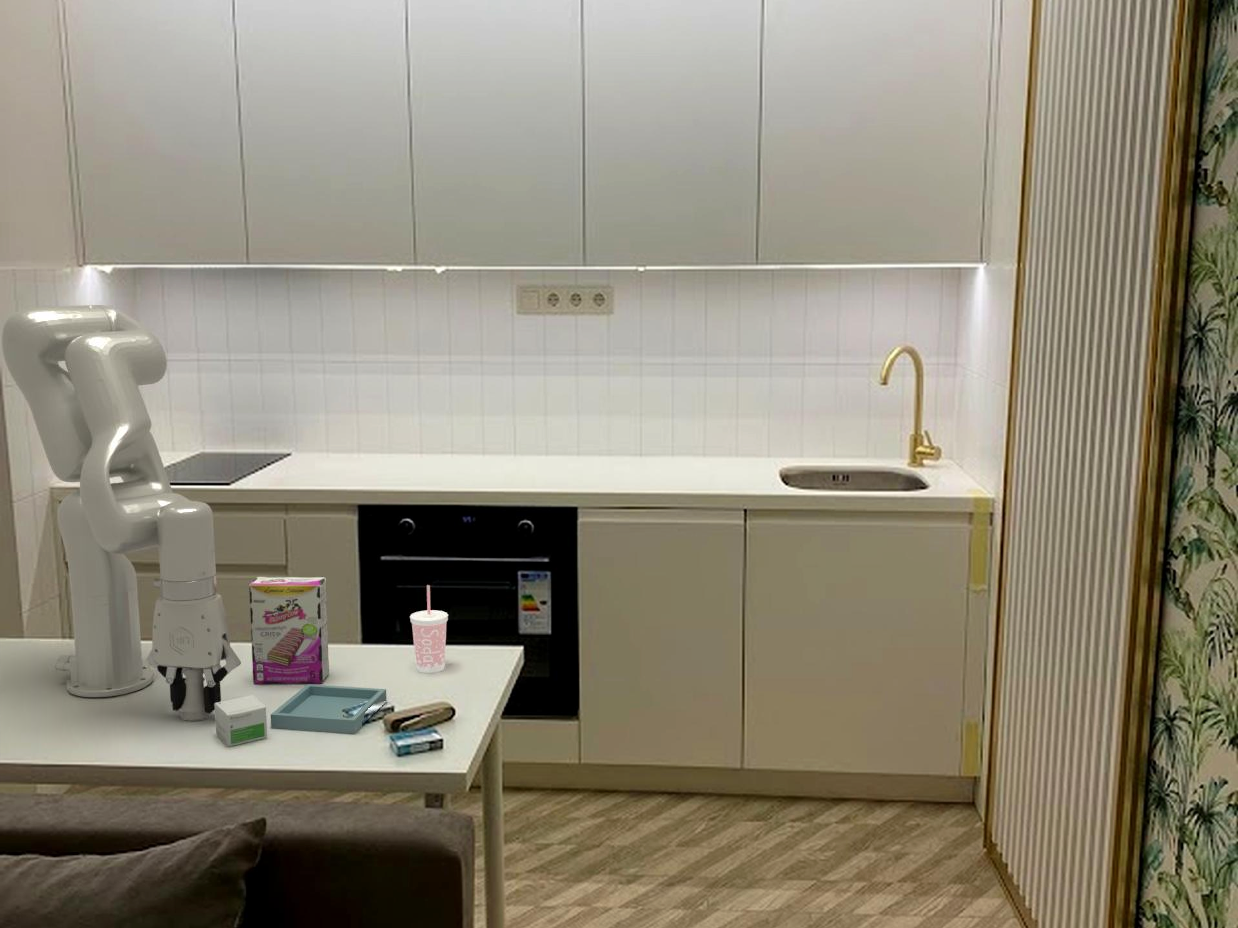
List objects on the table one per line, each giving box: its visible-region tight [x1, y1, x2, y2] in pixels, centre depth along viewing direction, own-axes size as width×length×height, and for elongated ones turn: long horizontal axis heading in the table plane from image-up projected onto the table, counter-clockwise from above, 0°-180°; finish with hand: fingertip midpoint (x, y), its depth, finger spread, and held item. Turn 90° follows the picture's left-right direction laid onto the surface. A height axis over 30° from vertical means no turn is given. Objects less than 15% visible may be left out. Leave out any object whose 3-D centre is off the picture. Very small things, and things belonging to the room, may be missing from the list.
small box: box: [214, 694, 268, 748], centre depth 167 cm, size 6×6×5 cm
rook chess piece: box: [180, 668, 214, 722], centre depth 174 cm, size 4×4×8 cm
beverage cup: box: [409, 584, 449, 674], centre depth 195 cm, size 6×6×14 cm
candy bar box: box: [248, 576, 330, 685], centre depth 189 cm, size 11×5×16 cm, turn 92°
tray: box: [270, 683, 387, 735], centre depth 176 cm, size 13×13×2 cm
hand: (196, 707), depth 175 cm, fingers closed on rook chess piece, 4 cm apart
